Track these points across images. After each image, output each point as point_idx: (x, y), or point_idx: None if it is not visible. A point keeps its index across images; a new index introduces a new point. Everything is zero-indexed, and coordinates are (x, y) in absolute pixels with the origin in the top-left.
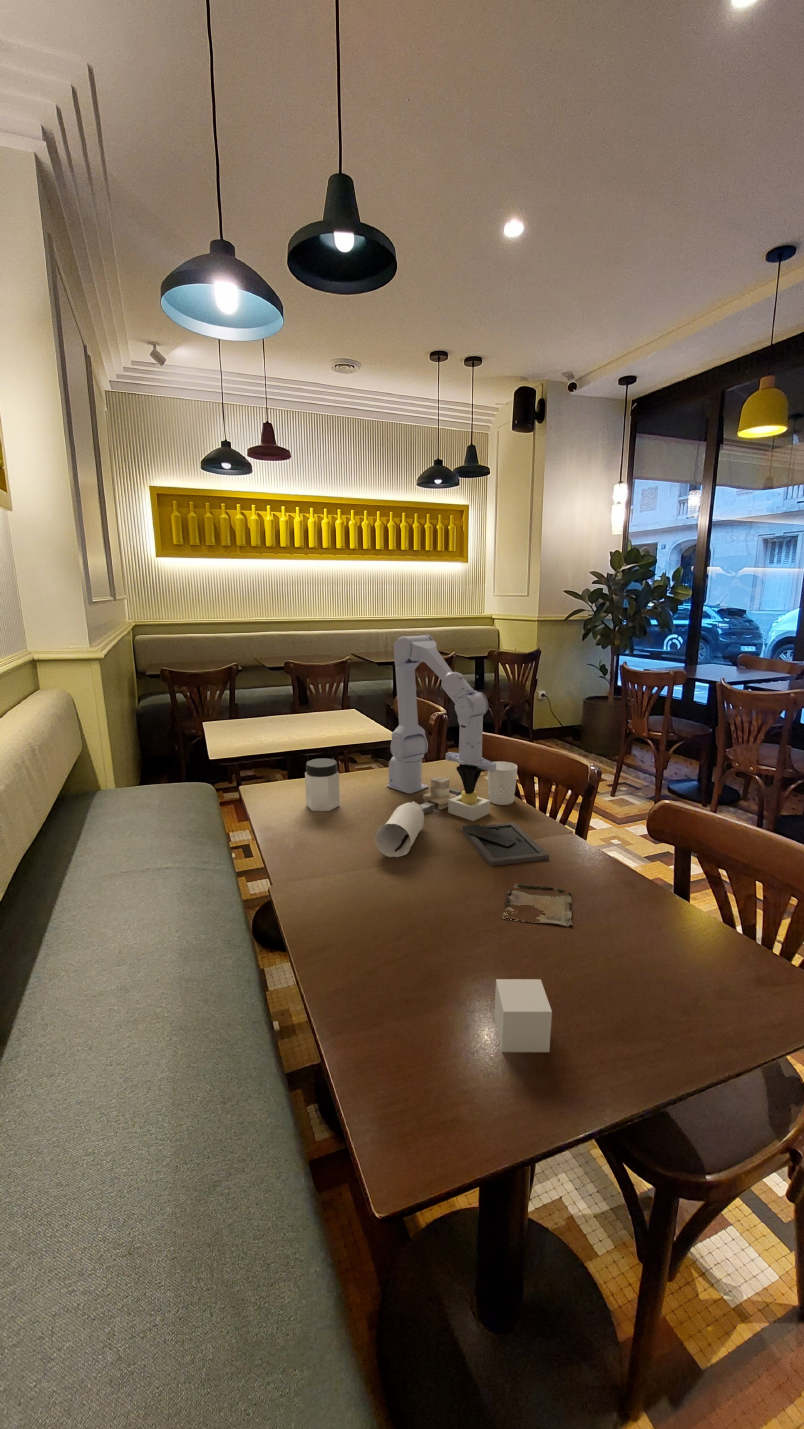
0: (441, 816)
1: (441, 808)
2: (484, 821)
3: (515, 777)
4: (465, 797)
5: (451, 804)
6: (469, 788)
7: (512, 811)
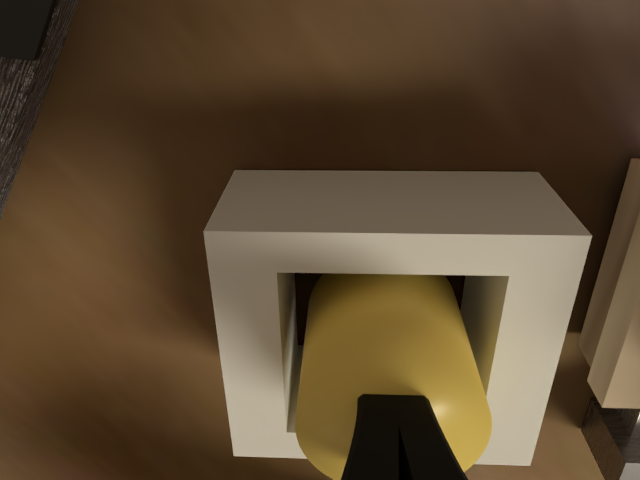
0: (545, 46)
1: (633, 174)
2: (168, 230)
3: None
4: (379, 332)
5: (525, 214)
6: (347, 457)
7: (174, 467)
